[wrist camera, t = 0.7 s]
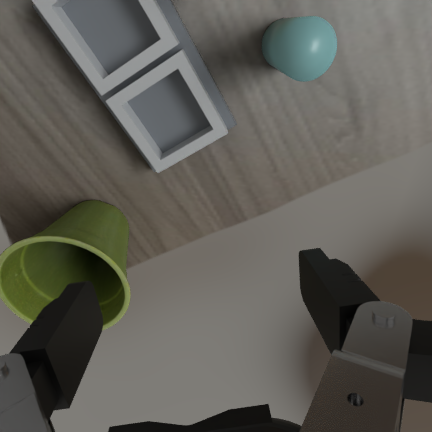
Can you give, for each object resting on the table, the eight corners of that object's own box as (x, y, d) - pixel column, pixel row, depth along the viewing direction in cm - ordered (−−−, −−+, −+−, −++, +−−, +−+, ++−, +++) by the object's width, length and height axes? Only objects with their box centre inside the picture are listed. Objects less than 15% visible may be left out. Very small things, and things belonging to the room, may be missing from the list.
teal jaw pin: (253, 34, 28) (269, 38, 21) (295, 8, 27) (325, 2, 20) (272, 76, 30) (292, 92, 23) (312, 53, 29) (344, 62, 22)
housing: (37, 6, 27) (19, 4, 24) (132, -71, 24) (124, -82, 22) (155, 168, 35) (151, 179, 32) (236, 121, 32) (238, 130, 30)
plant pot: (169, 224, 38) (156, 290, 29) (110, 276, 42) (81, 350, 33) (85, 158, 34) (37, 211, 24) (28, 224, 38) (-33, 292, 28)
